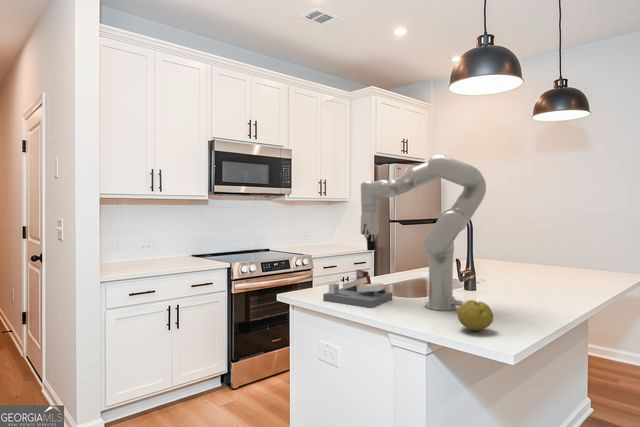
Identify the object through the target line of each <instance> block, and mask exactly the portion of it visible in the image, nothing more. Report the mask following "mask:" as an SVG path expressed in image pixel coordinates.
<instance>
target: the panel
mask: <svg viewBox="0 0 640 427" xmlns="http://www.w3.org/2000/svg"><path fill="white" fill-rule="evenodd" d="M357 286H358V285H357ZM357 286H353V287H349V288H345V289H343V287H342V288H341V287H340V288H339V293H337V294H329V291H328V292H326V293H323V296H322V299H323V302H330V303H337V304H342V305H350V306H355V307H361V308H362V307H363V308H369V309H373V308H375V307H378V306H380V305H383V304H385V303H386V302H389V301H391V300H393V292H389V291H386V288H385V287H384V289H382V290H380V291H368V292H357Z"/></svg>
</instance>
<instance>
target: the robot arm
mask: <svg viewBox="0 0 640 427" xmlns="http://www.w3.org/2000/svg"><path fill="white" fill-rule="evenodd" d="M439 179H443V180H446V181H448V182H452V183H453V184H456V185H458V186H461V187H463V190H462V191H461V193H460V195H459V196H458V198H457V199H456V201H455V202H454V203H453V205H452V207H451V208H449V209H447V210H445V211H444V212H442V214H441V215H440V216H439V217H438V219H437V220H436V222H435V223H434V225H433V226H432V227H431V229H430V231H429V232H428V234H427V235H426V236H425V240H424V241H423V242H424V243H423V245H424V249H425V252H426V253H428V254H429V255H428V256H429V257H428V258H429V259H428V301H427V302H425V303H424V308H426V309H429V310H434V311H441V312H442V311H444V312H447V311H455V310H456V309H457V306H459V307H460V306H461V305H462V304H464V301H462V300H459V299H458V300H457V299H455V298H456V297H455V296H453V295H454V294H453V293H454V292H453V291H454V289H453V284H454V282H453V281H454V280H453V279H454V276H453V273H454V272H453V270H454V268H453V267H454V251H455V250H454V249H455V242H454V241H455V240H456V238H457V237H458V235H459V234H460V233H461V232H462V231H463V230H465V229H466V227H467V225H468V223H469V222H470V220H471V219H472V217H473V216H474V215H475V213H476V211H477V210H478V208H479V206H480V205H481V203H482V202H483V200H484V198H485V196H486V191H487V185H486V179H485V178H484V175H483V174H482V173H481V171H480V170H479V169H478V168H477V167H475V166H473V165H471V164H468V163H465V162H463V161H460V160H457V159H454V158H451V157H450V156H447V155H444V154H441V153H439V154H434V155H433V156H431V158H429V160H428V161H426V162H423V163H419V164H417V165H416V166H413V167H411V168H410V169H409V170H408V171H407V172H406V173H405V174H403V175H401V176H399V177H397V178H393V179H390V180H389V179H379V180H374V181H370V180H369V181H368V180H367V181H363V182H361V183H360V204H361V206H360V207H361V215H360V234H361V235H363V237H364V238H365V240H366V250H367V251H376V237H377V236H378V234H379V232H380V226H379V225H380V223H379V197H381V198H394V197H396V196H400V195H401V194H404V193H407V192H409V191H412V190H414V189H416V188H419V187H420V186H423V185H426V184H429V183H431V182H435V181H437V180H439Z"/></svg>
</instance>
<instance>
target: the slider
mask: <svg viewBox="0 0 640 427" xmlns="http://www.w3.org/2000/svg"><path fill="white" fill-rule="evenodd" d="M339 289H340V284H339V283H336V282H333V283H330V284H328V292H329V294H337V293H339Z"/></svg>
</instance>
